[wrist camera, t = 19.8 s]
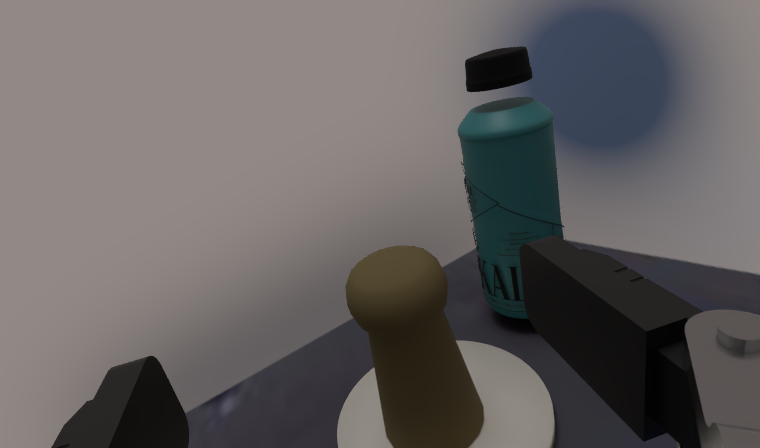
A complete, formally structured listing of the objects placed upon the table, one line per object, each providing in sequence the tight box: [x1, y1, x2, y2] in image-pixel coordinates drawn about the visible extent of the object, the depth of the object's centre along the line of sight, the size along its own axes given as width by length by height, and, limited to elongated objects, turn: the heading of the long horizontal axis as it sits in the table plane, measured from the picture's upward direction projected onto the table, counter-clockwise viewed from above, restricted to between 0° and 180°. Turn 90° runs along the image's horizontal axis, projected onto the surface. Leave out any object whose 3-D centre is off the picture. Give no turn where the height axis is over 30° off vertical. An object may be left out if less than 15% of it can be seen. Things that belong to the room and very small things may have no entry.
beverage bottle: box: [458, 47, 564, 319], centre depth 32 cm, size 6×7×20 cm
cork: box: [346, 246, 484, 448], centre depth 25 cm, size 6×6×11 cm
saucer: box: [337, 341, 555, 448], centre depth 28 cm, size 13×13×1 cm
